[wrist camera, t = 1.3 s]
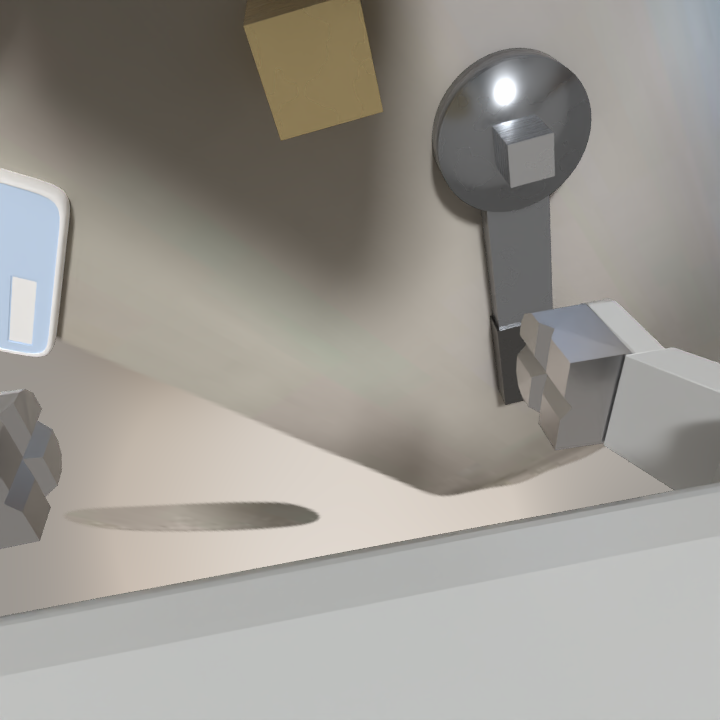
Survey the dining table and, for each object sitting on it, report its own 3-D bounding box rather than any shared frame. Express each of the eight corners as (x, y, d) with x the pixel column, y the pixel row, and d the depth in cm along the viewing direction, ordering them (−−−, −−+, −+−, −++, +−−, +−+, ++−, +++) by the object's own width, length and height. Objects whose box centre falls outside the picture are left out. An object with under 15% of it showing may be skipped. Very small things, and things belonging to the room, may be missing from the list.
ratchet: (420, 72, 34) (439, 100, 30) (578, 27, 33) (617, 50, 30) (471, 394, 51) (488, 438, 47) (576, 368, 51) (601, 410, 47)
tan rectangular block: (343, -33, 30) (358, -9, 25) (365, 70, 33) (383, 111, 28) (248, -5, 30) (243, 26, 25) (279, 95, 34) (280, 140, 28)
